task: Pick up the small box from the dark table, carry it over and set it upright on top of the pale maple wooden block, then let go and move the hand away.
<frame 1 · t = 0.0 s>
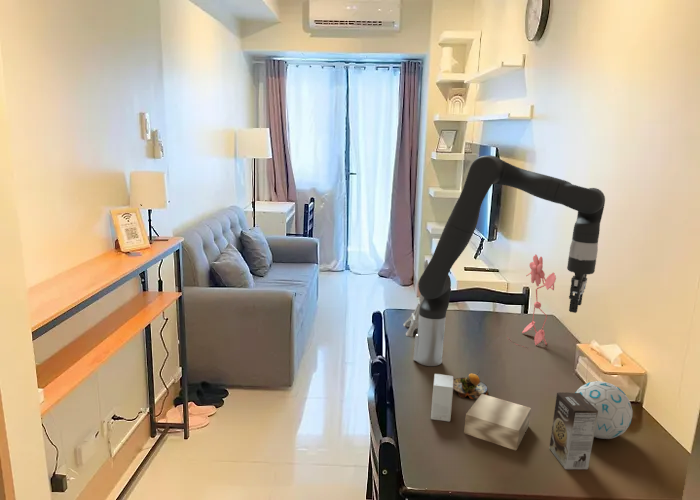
hand: (575, 308, 160), 29 cm above the table, tool pointing down, fingers open, 8 cm apart
small box: (440, 414, 153), on the table
pink flower figurine: (525, 339, 213), on the table
coffee box: (568, 459, 135), on the table
plate of food: (468, 391, 169), on the table
white soccer ball: (597, 434, 147), on the table
maple block: (496, 430, 147), on the table
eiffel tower: (421, 331, 218), on the table
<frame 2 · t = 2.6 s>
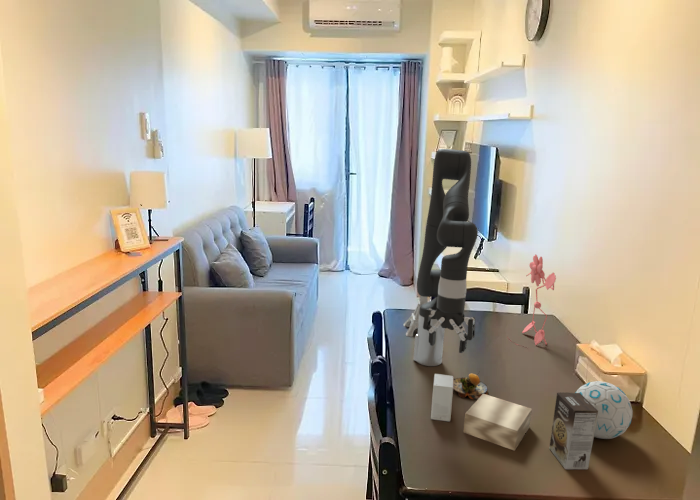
hand: (446, 348, 149), 20 cm above the table, tool pointing down, fingers open, 8 cm apart
nothing on the table moved.
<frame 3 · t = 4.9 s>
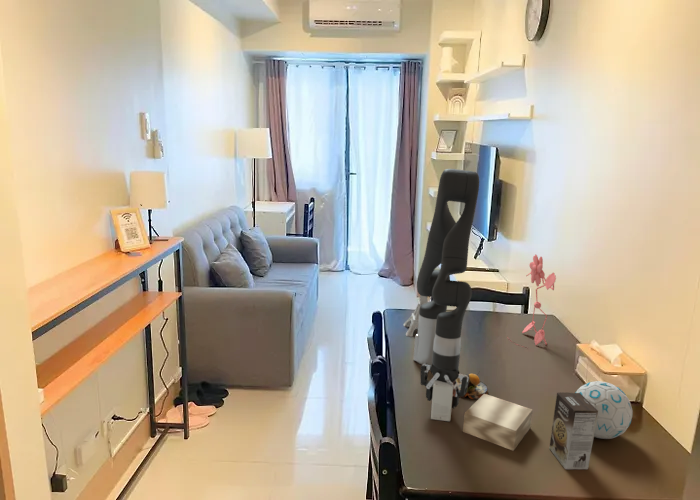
hand: (441, 403, 153), 3 cm above the table, tool pointing down, fingers closed on small box, 6 cm apart
small box: (440, 414, 153), on the table, touching gripper
everything else where it was.
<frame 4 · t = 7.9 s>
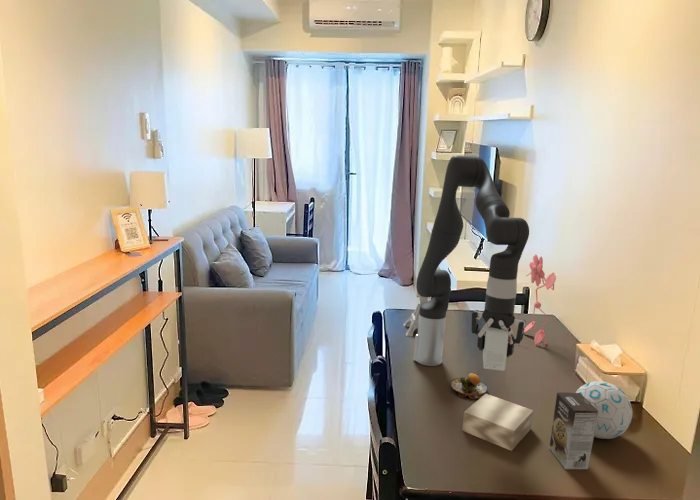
hand: (494, 352, 142), 22 cm above the table, tool pointing down, fingers closed on small box, 6 cm apart
small box: (493, 364, 143), point 19 cm above the table, touching gripper
everything else where it was.
when the fingers open (11 cm above the table, at t = 11.1 s): small box drops 2 cm, resting on maple block.
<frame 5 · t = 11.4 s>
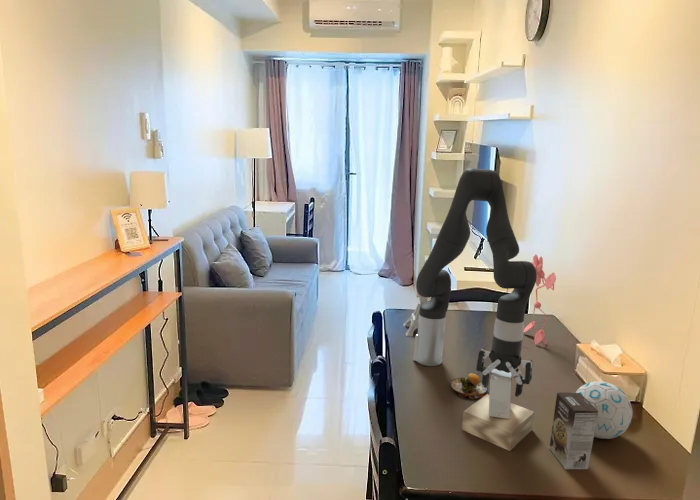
hand: (501, 391, 144), 12 cm above the table, tool pointing down, fingers open, 8 cm apart
small box: (499, 411, 145), point 6 cm above the table, touching maple block
maple block: (496, 431, 146), on the table, touching small box
everything else where it was.
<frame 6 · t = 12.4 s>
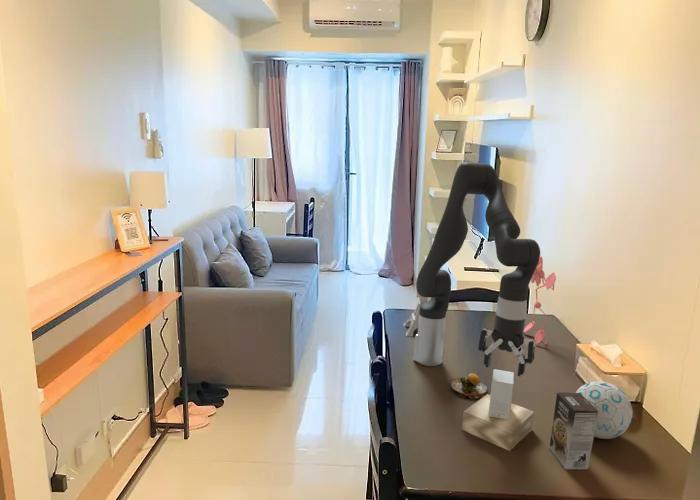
hand: (503, 370, 143), 18 cm above the table, tool pointing down, fingers open, 8 cm apart
nothing on the table moved.
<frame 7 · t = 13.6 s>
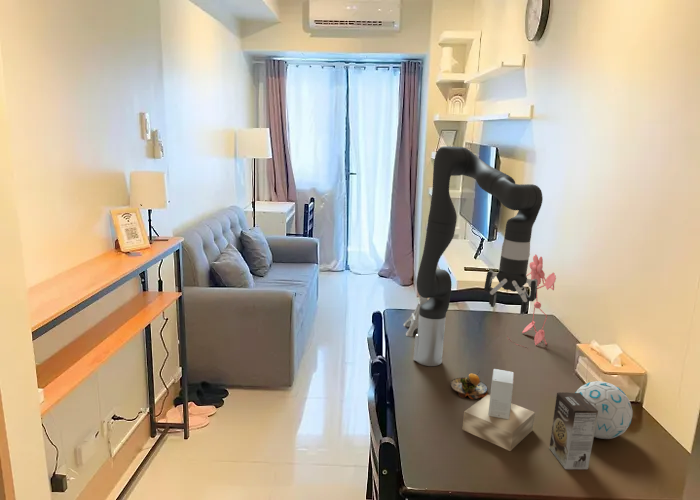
hand: (507, 309, 153), 30 cm above the table, tool pointing down, fingers open, 8 cm apart
nothing on the table moved.
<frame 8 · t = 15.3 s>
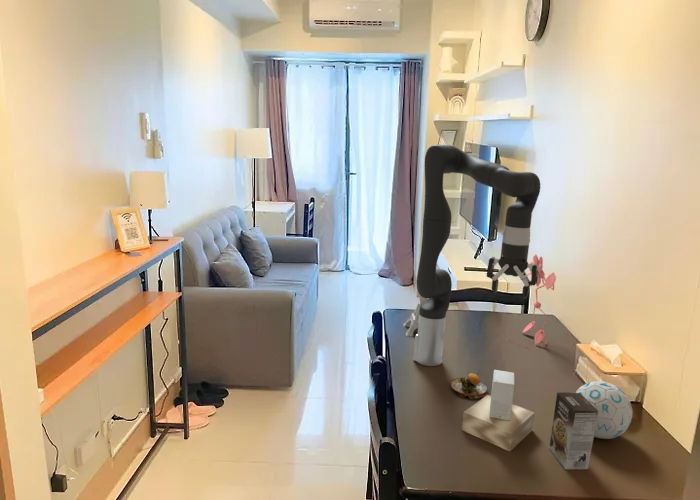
hand: (509, 294, 158), 33 cm above the table, tool pointing down, fingers open, 8 cm apart
nothing on the table moved.
at the end: small box inside the target area on the maple block (0.1 cm from its centre), point 5.8 cm above the maple block's base; small box tilted 0°; small box touching maple block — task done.
